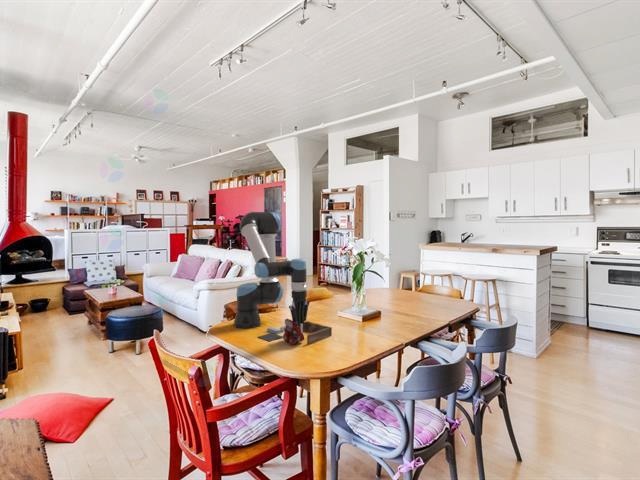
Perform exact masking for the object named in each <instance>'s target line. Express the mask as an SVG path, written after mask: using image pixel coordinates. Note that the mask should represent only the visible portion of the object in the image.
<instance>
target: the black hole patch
mask: <svg viewBox="0 0 640 480" xmlns="http://www.w3.org/2000/svg"><path fill="white" fill-rule="evenodd" d="M281 338H283V335H280V334H275V333H272V332H269V333H266V334H263V335H260V336H257V339H260V340H263V341H267V342H272V341H274V340H278V339H281Z"/></svg>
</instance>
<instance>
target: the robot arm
mask: <svg viewBox="0 0 640 480" xmlns="http://www.w3.org/2000/svg"><path fill="white" fill-rule="evenodd" d="M281 228H282V222H281V218H280V216H279V214H278V213H277V212H270V211H251V212H248V213H246V214H244V216H242V218H241V220H240V222H239V231H240V233H241V234H240V235H242V236H243V237H245V240H246V243H247V246H248V248H249V249H250V252H251V255H252V257H253V259H254V261H255V265H254V268H253V269H254V270H253V271H254V275H255V277H256V278H259V279H260V280H259V283H257V282H246V283H243V284H240V285H239V286H238V287H236V288H237V289H236V314H235V317H234V320H233V326H234V327H235V328H239V329H252V328H257V327H259V326H260V325H261V323H262V322H261V321H262V320H261V316H260V314H259V311H258V309H259V308H258V307H259V306H262V305H270V304H271V305H273V304H276V303H279V302H281V300H282V298H283V297H284V286H283V284H282V283H281V282H280V280H279V278H278V277H286V276H287V277H291V282H290V283H291V284H290V285H291V299H292V304H290V305H289V306H288V309H289V310H290V314H291V315H290V316H291V320H292V321H294V322H297V323H298V326H299V327H300V330H301V333H303V334H304V331H303V323H305V322H306V321H307V316H308V311H309V310H308V309H309V305H310V301H308V300H307V299H306V298H307V297H308V295H307V294H308V292H307V261H306V259H305V258H293V259H291V260H289V259H288V260H282V261H277V258H276V257H277V255H276V253H277V252H276V238H277V236H278V232H280V231H281Z"/></svg>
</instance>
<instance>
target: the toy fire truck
mask: <svg viewBox="0 0 640 480" xmlns="http://www.w3.org/2000/svg"><path fill="white" fill-rule="evenodd" d="M284 326H286V333H285V334H284V333H283V335H282V336H283V337H282V339H283V340H284V342H286V343H287V342H289V344H290V345H291V346H293V345H295V344H296V343H297V342H298V343H299V342H304V341H305V335H304V332H303V333H301V330H300V327H299V326H298V323H297V322H294V321H293V320H292V319H289V318H285V319H284Z"/></svg>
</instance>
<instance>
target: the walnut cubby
mask: <svg viewBox="0 0 640 480" xmlns="http://www.w3.org/2000/svg"><path fill="white" fill-rule="evenodd" d="M304 322H305V323H303V332H306V331H310V332H311V333H310V334H307V335H306V337H307V338H306V341H307V342H306V343H307V345H311V344H315V343H317V342H319V341H322V340H325V339H327V338H330V337H332V335H333V334H332V332H333V331H332V330H333V329H332V327H331V326H328V325H324V324H320V323H316V322H313V321H309V320H306V321H304ZM285 333H286V328H284V332H283V335H284V334H285Z"/></svg>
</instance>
